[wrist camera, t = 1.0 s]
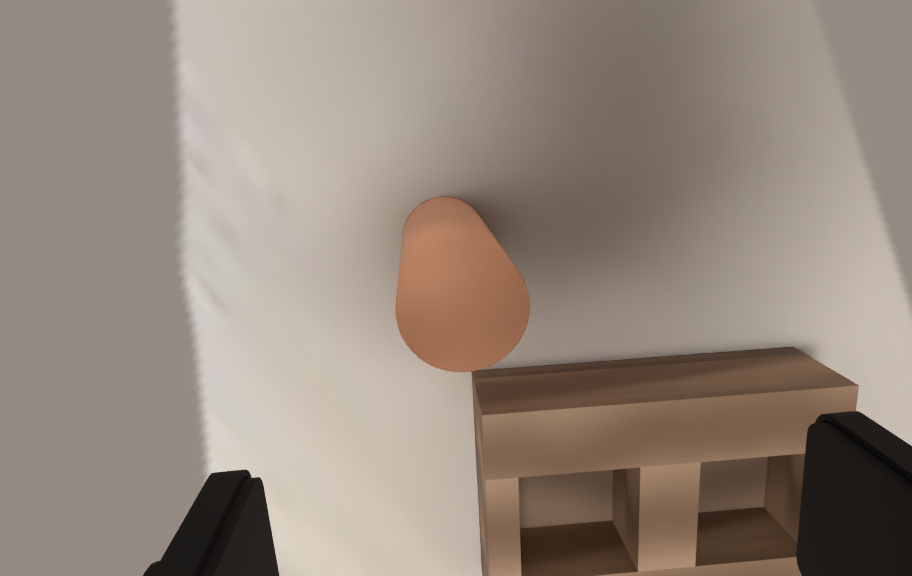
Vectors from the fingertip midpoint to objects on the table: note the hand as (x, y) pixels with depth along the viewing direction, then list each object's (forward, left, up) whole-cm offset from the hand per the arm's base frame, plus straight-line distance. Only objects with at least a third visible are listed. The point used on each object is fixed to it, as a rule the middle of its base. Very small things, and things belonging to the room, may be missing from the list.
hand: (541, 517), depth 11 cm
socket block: (+12, +9, -21) cm, 25 cm away
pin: (-1, -1, -21) cm, 21 cm away
